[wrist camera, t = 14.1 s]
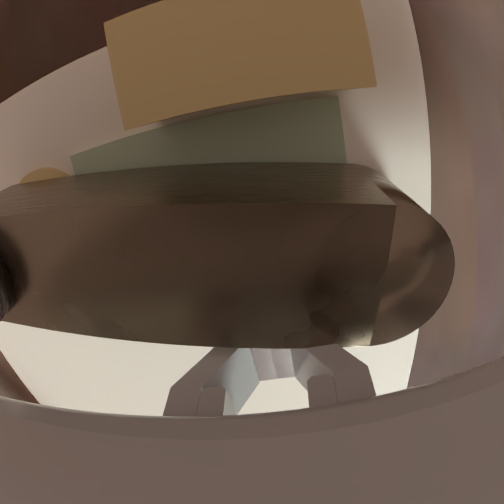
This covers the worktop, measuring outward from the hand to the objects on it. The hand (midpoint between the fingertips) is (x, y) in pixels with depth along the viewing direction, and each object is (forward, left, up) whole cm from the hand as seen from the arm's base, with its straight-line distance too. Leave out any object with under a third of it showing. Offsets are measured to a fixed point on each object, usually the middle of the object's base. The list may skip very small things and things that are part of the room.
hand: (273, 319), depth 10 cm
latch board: (+6, 0, -3) cm, 7 cm away
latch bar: (+2, -3, -1) cm, 4 cm away
